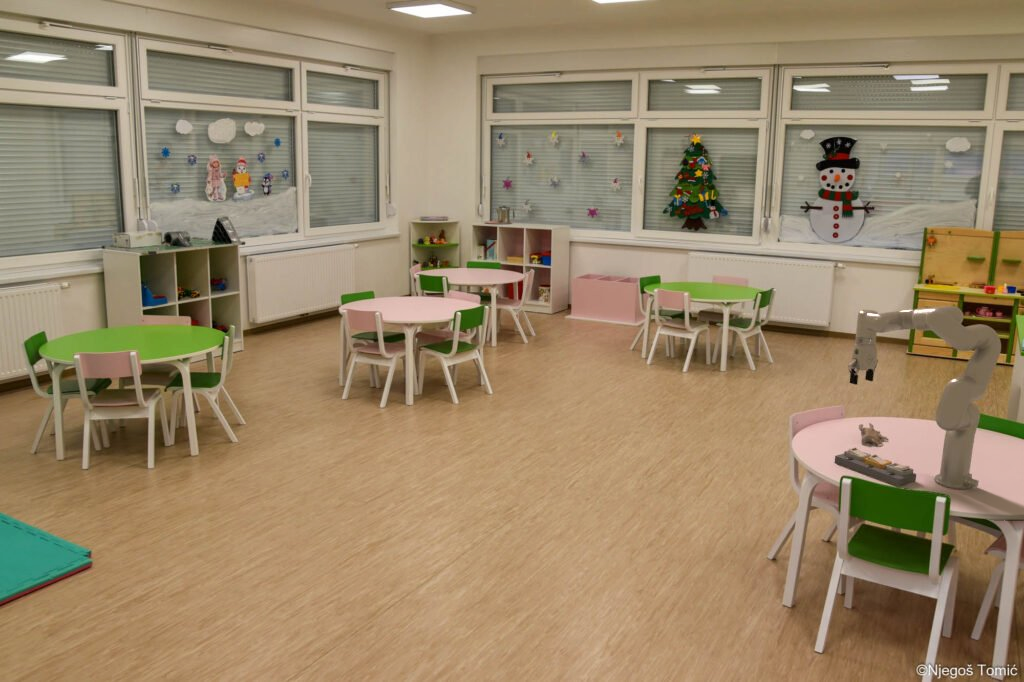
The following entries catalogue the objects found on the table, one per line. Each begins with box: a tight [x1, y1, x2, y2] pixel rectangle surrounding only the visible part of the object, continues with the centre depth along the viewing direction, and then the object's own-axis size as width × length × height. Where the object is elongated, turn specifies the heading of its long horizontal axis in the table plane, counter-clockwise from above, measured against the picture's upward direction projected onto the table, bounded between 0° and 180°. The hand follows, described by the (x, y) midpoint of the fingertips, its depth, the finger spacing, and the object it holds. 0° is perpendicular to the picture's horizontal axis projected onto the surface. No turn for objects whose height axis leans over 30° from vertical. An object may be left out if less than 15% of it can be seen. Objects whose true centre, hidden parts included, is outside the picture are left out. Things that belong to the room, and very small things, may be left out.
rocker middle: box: [869, 454, 887, 464], centre depth 321 cm, size 6×4×1 cm
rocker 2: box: [890, 464, 911, 471], centre depth 314 cm, size 6×4×1 cm
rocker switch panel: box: [834, 449, 917, 488], centre depth 321 cm, size 28×10×4 cm, turn 32°
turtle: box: [858, 422, 890, 446], centre depth 355 cm, size 16×10×10 cm, turn 154°
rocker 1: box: [848, 447, 867, 456], centre depth 329 cm, size 6×4×1 cm
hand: (861, 382), depth 339 cm, fingers open, 9 cm apart
